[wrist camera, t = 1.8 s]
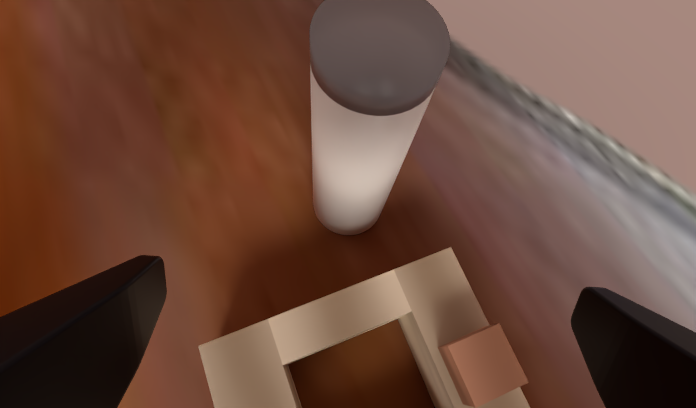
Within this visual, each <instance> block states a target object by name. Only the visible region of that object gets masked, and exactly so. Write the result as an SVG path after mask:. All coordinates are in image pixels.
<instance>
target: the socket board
mask: <svg viewBox="0 0 696 408" xmlns="http://www.w3.org/2000/svg"><path fill="white" fill-rule="evenodd" d="M396 319H398V321H399V324H400V326H401V328H402V331H403V333H404V335H405V338H406V340H407V343H408V345H409V347H410V350H411V352H412V354H413V357H414V359H415V361H416V364H417V366H418V368H419V371H420V373H421V376H422V378H423V380H424V383H425V385H426V387H427V390H428V392H429V394H430V397H431V399H432V402H433V404H434V406H435V408H530V406H529V404H528V402H527V400H526V398H525V396H524V394H523V392H522V390H521V388H520V386H522V385H524V384H526V383H528V380H527V378H526V376H525V374H524V372H523V370H522V368H521V366H520V364H519V362H518V360H517V358H516V356H515V354H514V352H513V350H512V348H511V346H510V344H509V342H508V340H507V338H506V336H505V334H504V332H503V330H502V328H501V326H500V324H494V325H489V323H488V321H487V319H486V317H485V315H484V313H483V311H482V309H481V307H480V305H479V303H478V301H477V299H476V297H475V295H474V293H473V291H472V289H471V287H470V285H469V283H468V281H467V279H466V276H465V274H464V272H463V270H462V268H461V266H460V264H459V262H458V260H457V258H456V256H455V254H454V252H453V250H452V248H451V247H450V248H447V249H445V250H442V251H440V252H437V253H434V254H432V255H429V256H427V257H424V258H422V259H419V260H417V261H414V262H412V263H409V264H406V265H404V266H401V267H399V268H396V269H394V270H391V271H389V272H386V273H383V274H381V275H378V276H376V277H373V278H371V279H368V280H366V281H363V282H361V283H358V284H355V285H353V286H350V287H348V288H345V289H343V290H340V291H338V292H335V293H332V294H330V295H327V296H325V297H322V298H320V299H317V300H315V301H312V302H310V303H307V304H304V305H302V306H299V307H297V308H294V309H292V310H289V311H287V312H284V313H281V314H279V315H276V316H274V317H271V318H269V319H266V320H264V321H261V322H259V323H256V324H253V325H251V326H248V327H246V328H243V329H241V330H238V331H236V332H233V333H230V334H228V335H225V336H223V337H220V338H218V339H215V340H213V341H210V342H208V343H205V344H202V345H200V346H198V347H199V351H200V354H201V358H202V362H203V366H204V369H205V373H206V377H207V381H208V385H209V388H210V392H211V396H212V400H213V403H214V407H215V408H302V406H301V403H300V400H299V397H298V394H297V391H296V388H295V384H294V381H293V378H292V375H291V372H290V369H289V366H288V364H291V363H293V362H296V361H298V360H300V359H303V358H305V357H308V356H310V355H312V354H315V353H317V352H319V351H322V350H324V349H327V348H329V347H331V346H334V345H336V344H339V343H341V342H343V341H346V340H348V339H351V338H353V337H355V336H358V335H360V334H362V333H365V332H367V331H370V330H372V329H374V328H377V327H379V326H382V325H384V324H386V323H389V322H391V321H393V320H396Z"/></svg>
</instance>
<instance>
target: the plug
mask: <svg viewBox="0 0 696 408" xmlns="http://www.w3.org/2000/svg"><path fill="white" fill-rule="evenodd" d="M449 52H450V37H449V32H448V29H447V26H446V24H445V22H444V20H443V18H442V17H441V15H440V14H439V13H438V11H437V10H436V9H435V8H434V7H433V6H432V5H431V4H430V3H428V1H426V0H324V1H323V2H322V3H321V4H320V6H319V7H318V9H317V10H316V12H315V14H314V16H313V18H312V21H311V24H310V80H311V130H312V179H313V208H314V212H315V214H316V216H317V218H318V220H319V221H320V222H321V223H322V225H324V226H325V227H326V228H327V229H329V230H330V231H332V232H334V233H337V234H341V235H356V234H360V233H362V232H365V231H366V230H368V229H370V228H371V227H372V226H373V225H374V224H375V223H376V221H377V220H378V218H379V216H380V214H381V212H382V209H383V207H384V205H385V203H386V200H387V198H388V196H389V193H390V191H391V189H392V186H393V184H394V182H395V180H396V177H397V175H398V173H399V170H400V168H401V166H402V163H403V161H404V159H405V156H406V154H407V152H408V150H409V147H410V145H411V143H412V140H413V138H414V136H415V133H416V131H417V129H418V127H419V124H420V122H421V120H422V117H423V115H424V113H425V110H426V108H427V106H428V104H429V101H430V99H431V97H432V94H433V92H434V90H435V87H436V85H437V83H438V80H439V78H440V76H441V74H442V71H443V69H444V67H445V64H446V62H447V59H448V56H449Z"/></svg>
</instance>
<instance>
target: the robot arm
mask: <svg viewBox="0 0 696 408" xmlns="http://www.w3.org/2000/svg"><path fill="white" fill-rule="evenodd" d="M166 293H167V289H166V279H165V270H164V262H163V260H162V258H161V257H159V256H148V255H140V256H138V257H135V258H133V259H131V260H128V261H126V262H124V263H122V264H119V265H117V266H115V267H113V268H110V269H108V270H106V271H104V272H101V273H99V274H97V275H95V276H92V277H90V278H88V279H85V280H83V281H81V282H79V283H76V284H74V285H72V286H70V287H67V288H65V289H63V290H61V291H58V292H56V293H54V294H52V295H49V296H47V297H45V298H42V299H40V300H38V301H36V302H33V303H31V304H29V305H27V306H24V307H22V308H20V309H18V310H15V311H13V312H11V313H9V314H6V315H4V316H2V317H0V408H117V407H118V405H119V403H120V401H121V400H122V398H123V396H124V394H125V392H126V390H127V388H128V386H129V385H130V383H131V381H132V379H133V377H134V375H135V373H136V371H137V369H138V367H139V365H140V363H141V360H142V358H143V356H144V353H145V350H146V348H147V345H148V343H149V340H150V338H151V335H152V333H153V330H154V328H155V325H156V323H157V320H158V317H159V315H160V312H161V310H162V307H163V305H164V302H165V299H166ZM571 326H572V330H573V332H574V335H575V337H576V340H577V342H578V345H579V347H580V349H581V352H582V354H583V357H584V359H585V362H586V364H587V367H588V369H589V372H590V374H591V377H592V379H593V381H594V384H595V386H596V388H597V391H598V393H599V395H600V397H601V399H602V401H603V403H604V405H605V407H606V408H696V333H695V332H693V331H691V330H689V329H687V328H685V327H683V326H681V325H679V324H677V323H675V322H673V321H671V320H669V319H667V318H665V317H663V316H661V315H659V314H657V313H655V312H653V311H651V310H649V309H647V308H645V307H643V306H641V305H639V304H637V303H635V302H633V301H631V300H629V299H627V298H625V297H623V296H621V295H619V294H617V293H615V292H613V291H610V290H608V289H606V288H600V287H586V288H584V289H583V290H582V291H581V293H580V296H579V298H578V301H577V304H576V306H575V309H574V311H573V314H572V317H571Z"/></svg>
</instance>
